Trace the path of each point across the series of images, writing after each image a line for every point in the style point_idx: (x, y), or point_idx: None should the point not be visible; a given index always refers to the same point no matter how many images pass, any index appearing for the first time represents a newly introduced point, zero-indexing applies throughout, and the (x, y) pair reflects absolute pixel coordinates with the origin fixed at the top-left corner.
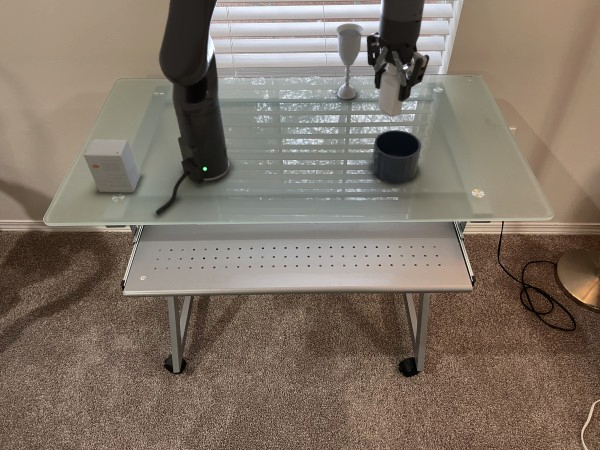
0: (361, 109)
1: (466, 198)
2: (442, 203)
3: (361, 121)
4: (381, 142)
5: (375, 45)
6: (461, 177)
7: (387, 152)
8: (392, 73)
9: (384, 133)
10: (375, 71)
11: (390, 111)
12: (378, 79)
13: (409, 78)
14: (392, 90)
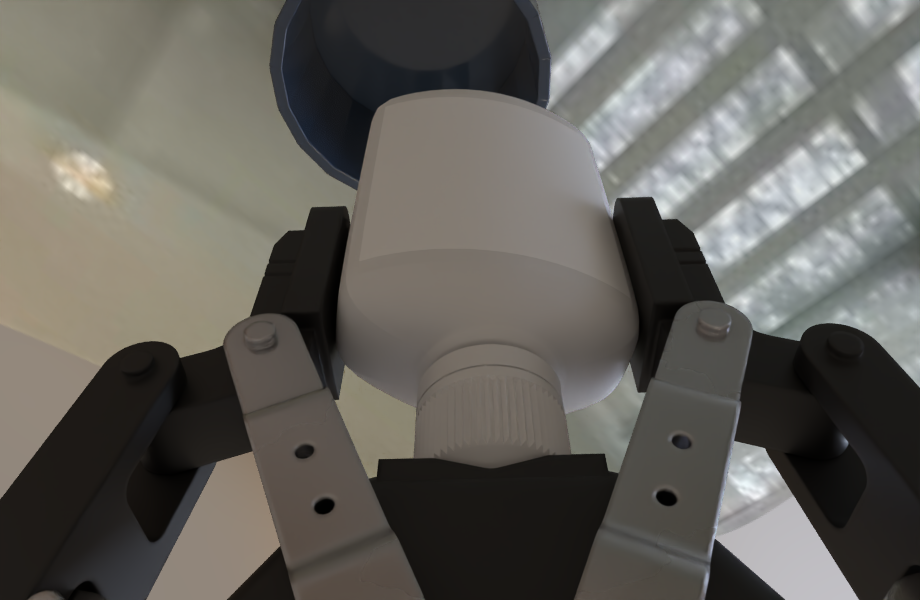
0: (843, 226)
1: (71, 119)
2: (81, 8)
3: (789, 164)
4: (532, 58)
5: (912, 596)
6: (199, 201)
7: (514, 73)
8: (456, 368)
9: (536, 98)
10: (710, 301)
11: (402, 112)
12: (637, 257)
13: (234, 414)
14: (397, 227)
